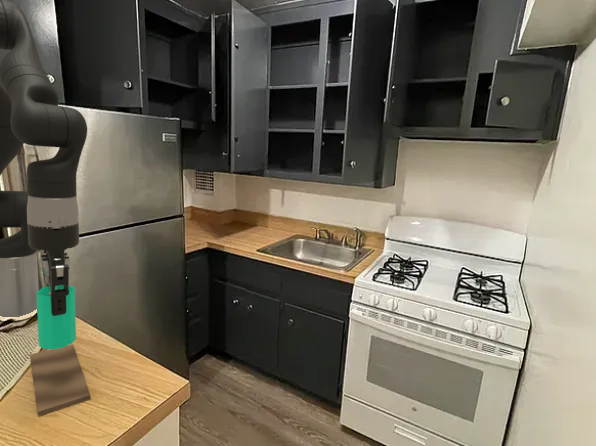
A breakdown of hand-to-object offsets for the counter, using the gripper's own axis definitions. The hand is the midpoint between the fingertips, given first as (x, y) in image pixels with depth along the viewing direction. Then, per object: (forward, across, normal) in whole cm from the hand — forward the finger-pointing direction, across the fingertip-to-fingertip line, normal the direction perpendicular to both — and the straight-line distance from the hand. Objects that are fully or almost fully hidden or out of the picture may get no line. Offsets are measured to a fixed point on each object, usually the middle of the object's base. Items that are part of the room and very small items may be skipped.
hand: (56, 306), depth 65 cm
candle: (+7, 0, 0) cm, 7 cm away
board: (+17, -3, 0) cm, 17 cm away
